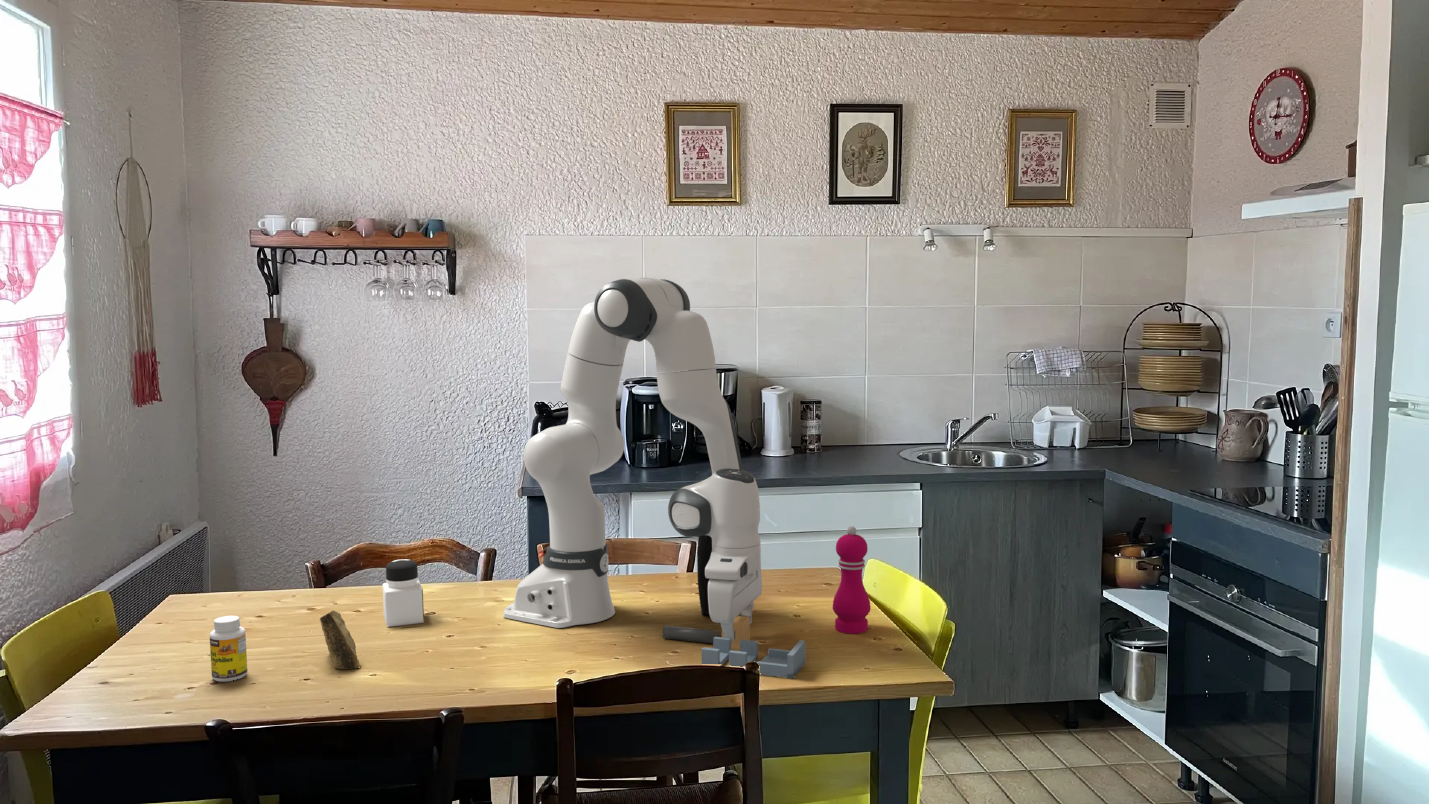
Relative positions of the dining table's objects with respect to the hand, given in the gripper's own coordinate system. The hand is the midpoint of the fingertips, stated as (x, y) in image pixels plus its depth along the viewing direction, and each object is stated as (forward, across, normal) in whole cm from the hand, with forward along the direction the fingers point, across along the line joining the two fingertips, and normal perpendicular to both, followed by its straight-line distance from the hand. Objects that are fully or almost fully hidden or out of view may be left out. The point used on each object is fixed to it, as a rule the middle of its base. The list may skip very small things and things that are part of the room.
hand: (738, 632), depth 193 cm
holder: (+2, +9, +10) cm, 14 cm away
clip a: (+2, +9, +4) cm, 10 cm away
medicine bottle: (+2, +6, -68) cm, 69 cm away
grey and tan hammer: (+2, 0, -6) cm, 7 cm away
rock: (+2, +29, -65) cm, 71 cm away
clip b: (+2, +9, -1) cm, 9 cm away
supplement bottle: (+2, +42, -78) cm, 88 cm away
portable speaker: (+2, -17, -9) cm, 19 cm away
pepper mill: (+3, -16, +18) cm, 24 cm away
